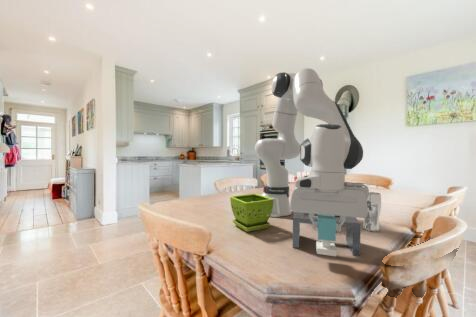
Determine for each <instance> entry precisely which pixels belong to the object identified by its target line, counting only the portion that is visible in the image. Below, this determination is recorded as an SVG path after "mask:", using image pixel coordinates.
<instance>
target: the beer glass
mask: <svg viewBox="0 0 476 317" xmlns="http://www.w3.org/2000/svg"><path fill="white" fill-rule="evenodd" d="M381 194H382V193H381V192H376V191H375V192H374V191H369V196H368V198H367V205H368V215H367V216H366V217H365V218H363V224H362V230H364V231H368V232H375V233H376V232H377V233H378V232H380V224H379V223H380V222H379V219H380V214H381V212H382V211H381V210H382V195H381Z"/></svg>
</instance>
